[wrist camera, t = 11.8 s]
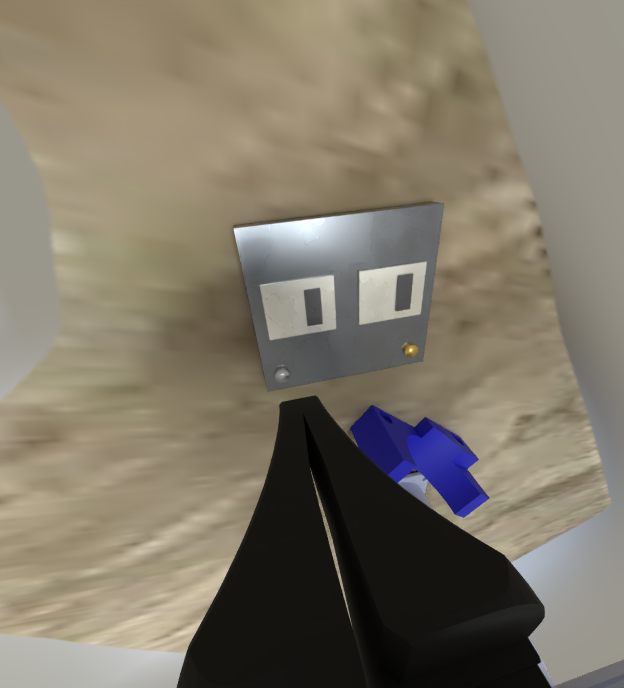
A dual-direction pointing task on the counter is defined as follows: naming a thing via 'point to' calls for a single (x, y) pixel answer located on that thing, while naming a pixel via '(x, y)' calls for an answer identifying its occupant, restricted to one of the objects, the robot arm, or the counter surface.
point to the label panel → (340, 290)
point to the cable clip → (421, 456)
